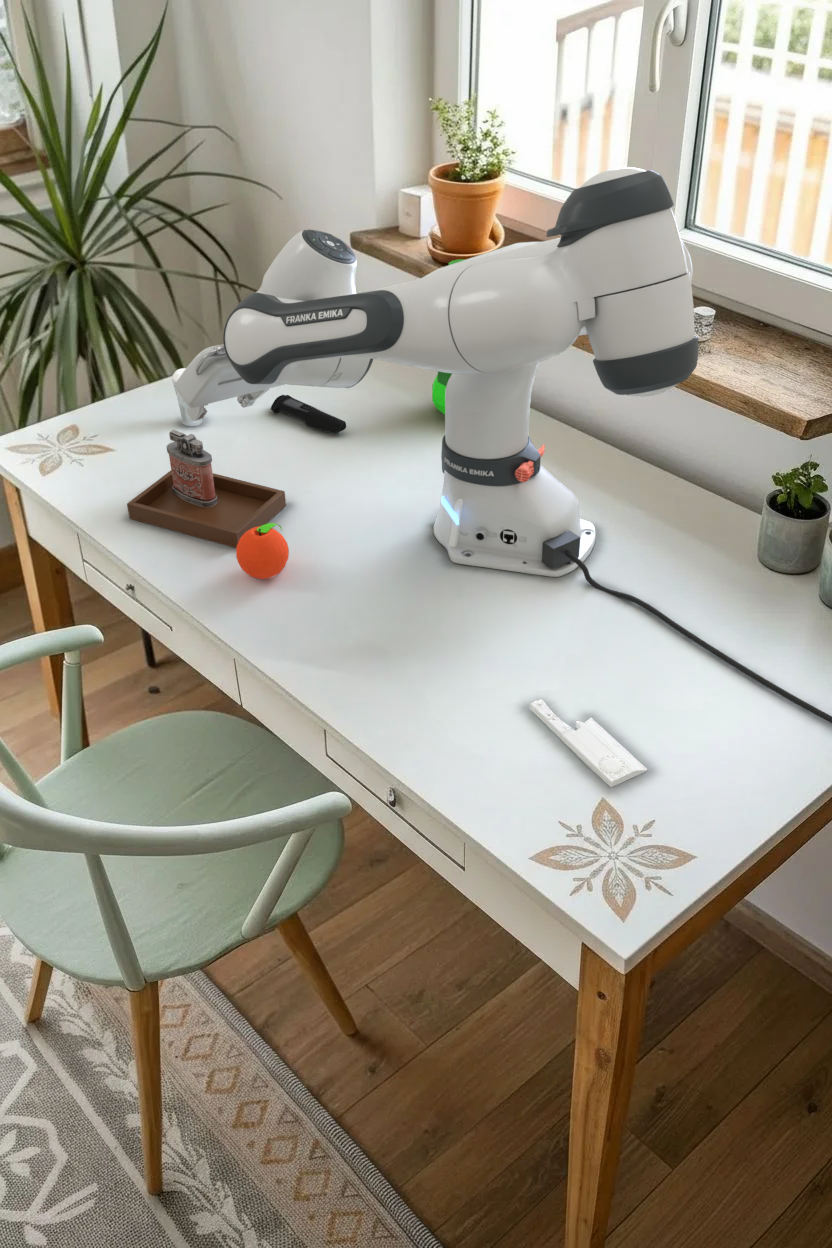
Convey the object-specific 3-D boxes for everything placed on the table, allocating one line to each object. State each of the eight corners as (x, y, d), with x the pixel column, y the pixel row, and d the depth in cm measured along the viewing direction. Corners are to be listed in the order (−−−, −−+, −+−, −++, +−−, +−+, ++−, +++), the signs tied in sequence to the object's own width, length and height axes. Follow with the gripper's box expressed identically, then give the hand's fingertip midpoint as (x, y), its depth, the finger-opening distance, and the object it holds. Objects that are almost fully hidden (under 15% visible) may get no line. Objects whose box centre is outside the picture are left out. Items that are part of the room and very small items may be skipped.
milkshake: (209, 428, 196) (201, 371, 190) (176, 428, 196) (167, 371, 190) (213, 415, 200) (206, 359, 194) (181, 415, 200) (173, 359, 194)
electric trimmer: (335, 443, 192) (334, 425, 190) (269, 413, 200) (267, 395, 198) (352, 435, 194) (351, 417, 192) (285, 405, 202) (284, 388, 200)
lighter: (222, 500, 177) (215, 439, 171) (205, 510, 175) (197, 448, 169) (185, 483, 181) (176, 423, 175) (167, 492, 179) (158, 431, 173)
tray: (286, 506, 176) (284, 491, 175) (238, 548, 167) (236, 533, 166) (180, 478, 183) (178, 464, 182) (129, 518, 174) (126, 503, 173)
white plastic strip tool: (565, 694, 141) (566, 687, 140) (647, 771, 131) (648, 764, 130) (529, 708, 139) (530, 701, 138) (609, 788, 129) (610, 780, 128)
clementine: (264, 551, 167) (259, 506, 162) (305, 565, 164) (301, 520, 160) (228, 579, 161) (222, 534, 157) (270, 594, 158) (265, 548, 154)
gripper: (224, 369, 144) (175, 443, 152) (333, 344, 159) (283, 413, 168) (193, 329, 144) (146, 405, 153) (304, 308, 160) (256, 379, 169)
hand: (219, 409), depth 161 cm, fingers open, 8 cm apart
